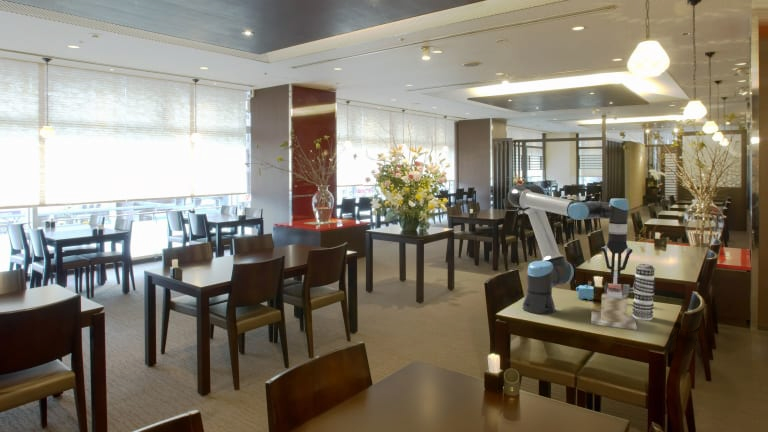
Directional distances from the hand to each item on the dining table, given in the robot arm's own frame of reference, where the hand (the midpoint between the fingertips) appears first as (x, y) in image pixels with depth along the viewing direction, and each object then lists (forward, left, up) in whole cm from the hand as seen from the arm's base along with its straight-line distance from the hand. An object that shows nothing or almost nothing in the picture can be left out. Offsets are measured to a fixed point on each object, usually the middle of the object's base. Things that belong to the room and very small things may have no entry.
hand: (614, 284), depth 226 cm
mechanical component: (+7, +35, -17) cm, 39 cm away
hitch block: (0, -1, -17) cm, 17 cm away
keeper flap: (0, +2, -2) cm, 2 cm away
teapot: (-11, +37, -17) cm, 42 cm away
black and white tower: (+13, +12, -17) cm, 25 cm away
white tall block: (0, -1, -15) cm, 15 cm away
